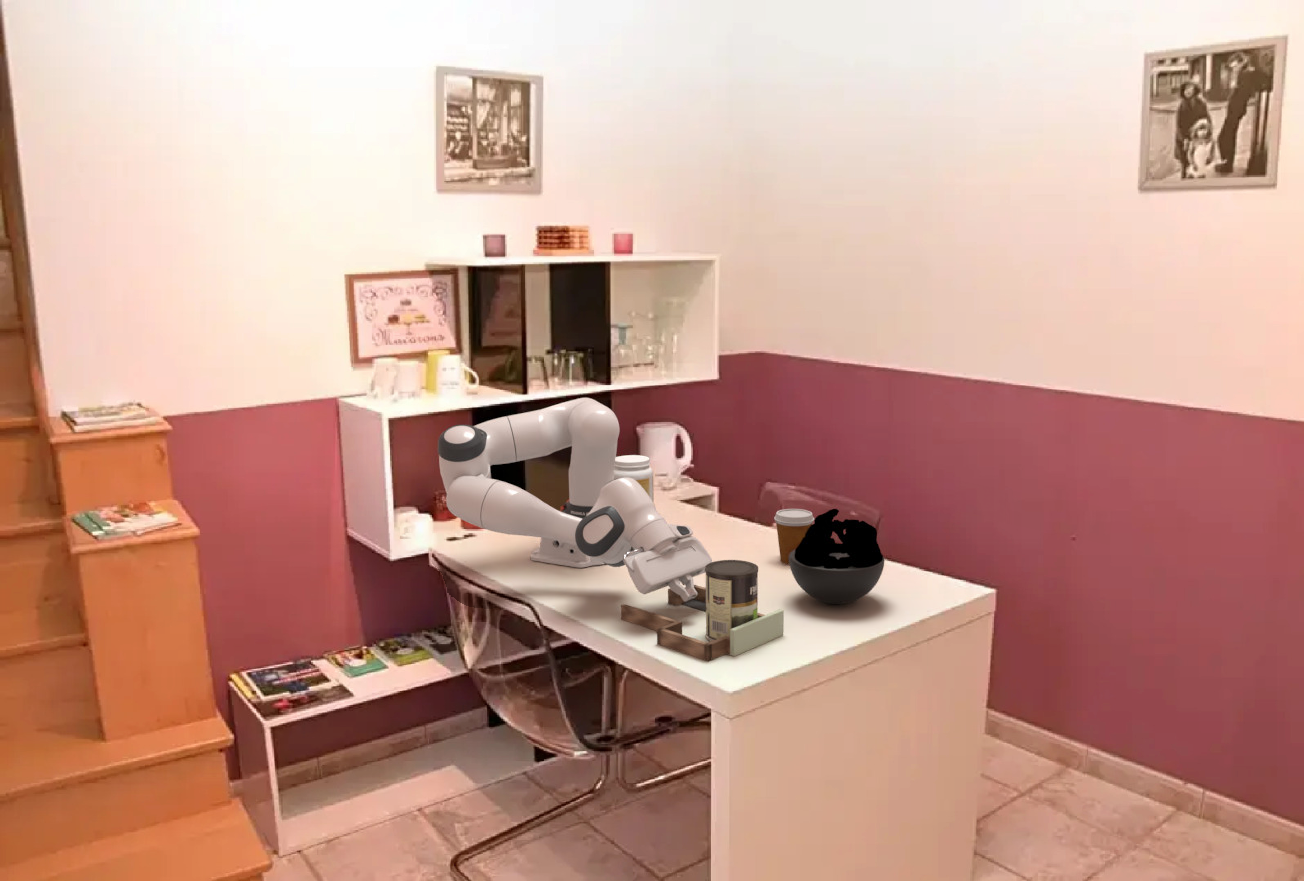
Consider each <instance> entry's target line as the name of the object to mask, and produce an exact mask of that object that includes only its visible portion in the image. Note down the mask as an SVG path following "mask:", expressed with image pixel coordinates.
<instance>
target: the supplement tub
mask: <svg viewBox="0 0 1304 881" xmlns="http://www.w3.org/2000/svg"><path fill="white" fill-rule="evenodd" d="M622 477H629V478H632V479H634V480H636V481H637V482H638V483H639V484H640V485H641V486H642V488H643V489H644V490H645V491H646V493H647V494H648V495H649V497H650V498H651V500H652V501H653V503H654V502H655V501H654V499H655V498H654V495H655V494H654V493H655V492H654V471H653V468H652V467H651V460H650V457H648V456H647V455H638V454H629V455H621V456H620V455H619V456H616V458H615V465H614V479H617V478H622ZM654 504H655V503H654Z"/></svg>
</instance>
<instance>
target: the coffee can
mask: <svg viewBox="0 0 1304 881" xmlns="http://www.w3.org/2000/svg"><path fill="white" fill-rule="evenodd" d="M758 573H759V566H758V565H757V564H756V563H753V562H750V561H746V560H740V559H739V560H738V559H723V560H717V561H716V560H715V561H712V562H711V563H709V564H707V565H706V566H705V588H706V612H705V637H706V639H707V640H708V641H709V642H711V641H714V640H716V639H718V638H721V637H723V636H728V637H730V629H732V628H735V627H737V626H740V625H742V624H745V623H747V622H750V621H752V620H754V619H757V618H758V613H759V611H758V606H759V605H758V599H759V598H758V596H759V595H758V594H759V592H758V591H759V590H758V589H759V588H758V586H759V583H758V581H759V579H758V575H759V574H758Z"/></svg>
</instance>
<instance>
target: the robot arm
mask: <svg viewBox="0 0 1304 881" xmlns="http://www.w3.org/2000/svg"><path fill="white" fill-rule="evenodd" d="M619 423H620V422H619V420H618V417H617V415H616V414H615V412H614V411H613V410H612V409H611V408H609V407H608V406H606V405H604V404H603V403H600V402H599V401H597V400H596V399H593V398H590V397H580V398H579V397H578V398H576V399H570V400H568V401H565V402H564V401H563V402H560V403H558V404H554V405H551V406H548V407H544V408H541V409H537V410H532V411H531V410H530V411H527V412H523V413H517V414H511V415H510V414H509V415H506V416H501V417H497V418H493V419H490V420H489V419H488V420H486V421H484V422H481V423H478V424H476V425H470V424H456V425H453V426H450V427H448V428H447V429H445V430H444V431H443V432H442V433H441V434H440V435H439V437H438V440H437V454H438V459H439V461H438V462H439V470H440V471H439V473H440V476H441V479H442V483H443V487H444V489H445V490H444V491H445V497H446V498H445V500H446V508H447V509H448V511H449V512H450V513H451V514H452V515H453V516H455V517H456V518H459V519H460V520H462V521H465V522H466V523H469V524H471V525H472V526H476V527H479V528H480V529H484V530H487V531H491V532H495V533H500V534H505V535H512V536H521V537H522V536H525V537H533V538H534V537H535V538H540V542H539V546H538V547H537V548H535V549H534V550H533V551H531V555H530V560H531V561H534V562H541V563H547V564H554V565H560V566H565V567H572V568H577V569H580V568H581V569H582V568H587V567H591V566H599V565H607V566H609V567H613V568H619V567H623V566H625V567H626V569H627V572H628V574H629V576H630V578H631V581H632V583H633V584H634V587H635V588H636V589H637V591H638V592H639V593H640V594H642V595H648V594H650V593H652V592H655V591H658V590H661V589H663V588H664V589H665V588H666V587H669V589H671V590H672V591H673V592H675V593H676V594H678V595H680V596H681V598H682V599H683V601H684V602H686V601H688V600H690V599H693V598H695V597H696V596H697V595H698V593H697V591H696V590H695V588H694V585H695V582H694V577H697V576H700V575H703V574H706V572H705V566H706V565H707V564H709V563H711V562H713V559H712V557H711V555H710V554H709V552H708V550H707V549H706V548H705V546H704V545H703V544H702V542H701V541H700V540H699V539H698V538H697V537H695V536H692V535H693V534H694V531H693V529H692V528H691V526H689V525H680V524H673V523H668V521H666V519H665V517H663V516H662V515H660V513H659V512H658V510H657V508H656V505H655V503H653V501H652V500H651V498H650V497H649V495H648V494H647V493H646V491H645V490H644V489H643V488H642V486H641V485H640V484H639V483H638V482H637V481H636V480H634V479H632V478H629V477H622V478H617V479H614V465H615V458H616V457H617V449H618V438H619V437H620V436H619V435H620V432H621V431H620V424H619ZM570 447H571V454H570V464H569V467H568V496H569V498H568V499H567V500H566V502H565V503H563V504H562V506H560V510H558V509H556V508H554V507H553V506H550V505H549V504H548V503H546V502H544V501H542V500H541V499H540V498H538V497H537V496H535V495H534V494H532V493H530V492H528V491H527V490H524V489H522V488H521V487H519V486H517V485H514V484H511V483H508V482H506V481H502V480H499V479H494V478H492V473H491V466H493V465H503V464H511V463H516V462H520V461H521V462H522V461H526V460H532V459H536V458H541V457H546V456H549V455H551V454H553V453H555V452H558V451H561V450H563V449H566V448H567V449H568V448H570ZM684 586H685V587H686V589H685V587H684Z"/></svg>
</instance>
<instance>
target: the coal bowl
mask: <svg viewBox="0 0 1304 881" xmlns="http://www.w3.org/2000/svg"><path fill="white" fill-rule="evenodd" d="M839 512H840V510H839V509H838V508H833V509H829V510H828V511H826V512H824V513H821V514H818V515H817V516H816V517H814V521H813V523H812V525H811V526H810V527H809V528H808V530H807V532H806V533H805V537H803V538H802V540H801V542H800V544H799V545H798V547H797V548H796V549H795V550H793V551H792V552H790V554H789V564H790V565H789V564H788V565H789V568H790V572H791V574H792V576H793V578H794V580H795V583H797V585H798V586H799V587H800V588H801V589H802V591H804V592H805V593H806V594H807V595H809V596H810V597H811V598H813V599H815V600H818V601H819V602H823V603H826V604H830V605H845V604H850V603H853V602H855V601H858V600H860V599H862V598H864V597H865V596H866V595H868V594H869V593H870V592H871V591H872V590H873V588H874V587H875V586H876V585H877V584H878V582H879V580H880V578H881V576H882V575H883V574H882V573H883V571H884V567H885V557H884V555H883V554H882V551H881V548H880V546H879V543H878V540H877V539H878V538H877V537H878V531H877V528H876V527H875V526H873V525H871V524H869V523H868V522H866V521H865V520H861V521H860V520H859V519H851V518H850V519H848V518H845V519H844V520H843V521H841V520H839V519H834V518H835V517H836V516H837V515H838V514H839ZM844 530H845V531H844ZM833 533H835V535H836V536H837V538H838V539H839V540H840V543H839V542H836V540H835V538H833V537H832V536H833Z"/></svg>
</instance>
